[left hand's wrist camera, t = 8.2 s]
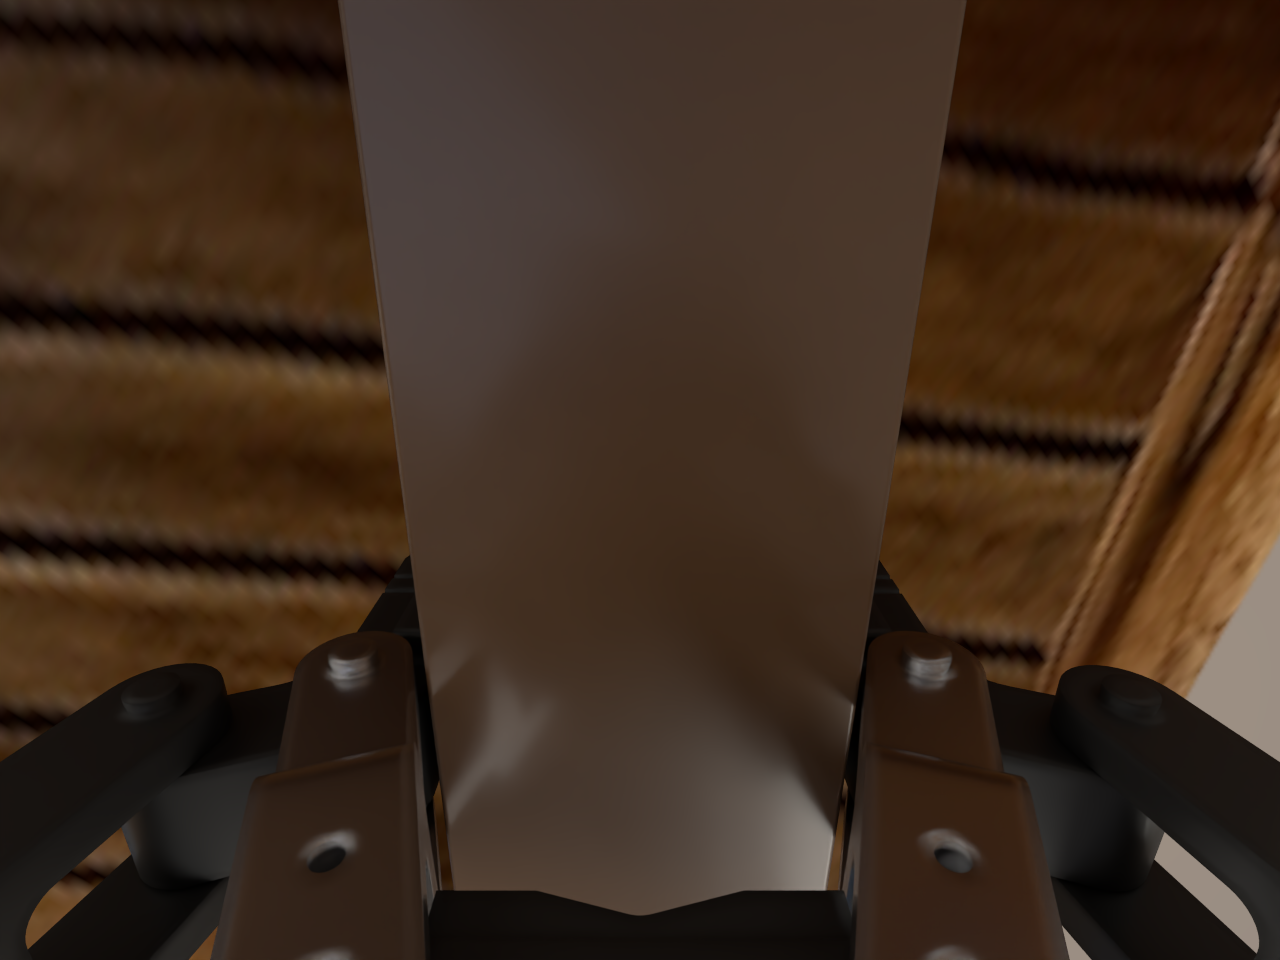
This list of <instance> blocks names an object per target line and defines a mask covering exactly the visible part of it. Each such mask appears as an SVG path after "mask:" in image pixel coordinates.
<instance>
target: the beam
mask: <svg viewBox="0 0 1280 960" xmlns="http://www.w3.org/2000/svg"><path fill="white" fill-rule="evenodd" d="M966 1H967V0H338V6H339V14H340V22H341V29H342V37H343V45H344V52H345V60H346V67H347V75H348V83H349V90H350V98H351V106H352V113H353V121H354V129H355V136H356V144H357V152H358V159H359V167H360V175H361V182H362V190H363V198H364V205H365V213H366V221H367V228H368V236H369V244H370V251H371V259H372V267H373V274H374V282H375V289H376V297H377V305H378V312H379V320H380V328H381V335H382V343H383V351H384V358H385V366H386V374H387V381H388V389H389V397H390V404H391V412H392V420H393V427H394V435H395V443H396V450H397V458H398V466H399V473H400V481H401V489H402V496H403V504H404V512H405V519H406V527H407V534H408V542H409V550H410V557H411V565H412V573H413V580H414V588H415V596H416V603H417V611H418V619H419V626H420V634H421V642H422V649H423V657H424V665H425V672H426V680H427V688H428V695H429V703H430V711H431V718H432V726H433V734H434V741H435V749H436V757H437V764H438V772H439V779H440V787H441V795H442V802H443V810H444V818H445V825H446V833H447V841H448V848H449V856H450V864H451V871H452V879H453V887H454V890H537V891H541V892H544V893H548V894H552V895H556V896H560V897H564V898H568V899H572V900H576V901H580V902H583V903H587V904H591V905H595V906H599V907H603V908H607V909H611V910H615V911H619V912H623V913H626V914H631V915H649V914H654V913H657V912H661V911H665V910H669V909H673V908H677V907H681V906H685V905H689V904H693V903H697V902H700V901H704V900H708V899H712V898H716V897H720V896H724V895H728V894H732V893H736V892H739V891H743V890H827V886H828V880H829V874H830V867H831V861H832V854H833V848H834V842H835V835H836V829H837V823H838V816H839V810H840V804H841V797H842V791H843V784H844V778H845V772H846V765H847V759H848V753H849V746H850V740H851V734H852V727H853V721H854V714H855V708H856V702H857V695H858V689H859V683H860V676H861V670H862V663H863V657H864V651H865V644H866V638H867V632H868V625H869V619H870V613H871V606H872V600H873V593H874V587H875V581H876V574H877V568H878V562H879V555H880V549H881V542H882V536H883V530H884V523H885V517H886V511H887V504H888V498H889V492H890V485H891V479H892V472H893V466H894V460H895V453H896V447H897V441H898V434H899V428H900V421H901V415H902V409H903V402H904V396H905V390H906V383H907V377H908V371H909V364H910V358H911V351H912V345H913V339H914V332H915V326H916V320H917V313H918V307H919V300H920V294H921V288H922V281H923V275H924V269H925V262H926V256H927V250H928V243H929V237H930V230H931V224H932V218H933V211H934V205H935V199H936V192H937V186H938V179H939V173H940V167H941V160H942V154H943V148H944V141H945V135H946V129H947V122H948V116H949V109H950V103H951V97H952V90H953V84H954V78H955V71H956V65H957V59H958V52H959V46H960V39H961V33H962V27H963V20H964V14H965V8H966Z"/></svg>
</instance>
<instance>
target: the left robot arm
mask: <svg viewBox="0 0 1280 960" xmlns="http://www.w3.org/2000/svg"><path fill="white" fill-rule="evenodd" d="M394 576H395V577H394V579H392V580H391V581H390V583H389V584H388V586H387V587H386V589H385V593H382V595H381V597H380V598H379V600H378V601H377V603H376V604H375V606H374V607H373V609H372V610H371V612H370V613H369V615H368V616H367V618H366V619H365V621H364V622H363V624H362V625H361V627H360V629H359V630H358V632H356V633H351V634H347V635H344V636H340V637H337V638H335V639H332V640H330V641H328V642H326V643H324V644H322V645H320V646H318V647H317V648H315V649H314V650H312V651H311V652H310V653H308V654H307V655H306V656H305V657H304V658H303V659H302V660H301V661H300V663H299V664H298V666H297V668H296V671H295V673H294V679H293V681H291V682H288V683H284V684H280V685H275V686H270V687H265V688H260V689H255V690H250V691H245V692H240V693H235V694H230V695H227V691H226V688H225V684H224V680H223V677H222V675H221V673H220V672H219V671H218V670H217V669H215V668H213V667H211V666H208V665H204V664H196V663H185V664H175V665H170V666H164V667H160V668H157V669H153V670H150V671H147V672H144V673H141V674H139V675H136V676H134V677H131V678H129V679H127V680H125V681H123V682H121V683H119V684H118V685H116V686H114V687H113V688H111V689H109V690H108V691H106V692H105V693H103V694H102V695H100V696H99V697H97V698H96V699H94V700H93V701H91V702H90V703H88V704H87V705H85V706H84V707H82V708H81V709H79V710H78V711H76V712H75V713H73V714H72V715H70V716H69V717H67V718H66V719H64V720H63V721H61V722H60V723H58V724H57V725H55V726H54V727H52V728H51V729H49V730H48V731H46V732H45V733H43V734H42V735H40V736H39V737H37V738H36V739H34V740H33V741H31V742H30V743H28V744H27V745H25V746H24V747H22V748H21V749H19V750H18V751H16V752H15V753H13V754H12V755H10V756H9V757H7V758H6V759H4V760H3V761H1V762H0V960H189V958H190V957H191V956H192V955H193V954H194V953H195V951H196V950H197V949H198V948H199V947H200V946H201V944H202V943H203V942H204V941H205V940H206V939H207V937H208V936H209V935H210V934H211V933H212V932H213V931H214V929H215V928H216V927H217V926H218V929H217V933H216V937H215V942H214V946H213V950H212V955H211V959H210V960H1070V959H1069V955H1068V951H1067V946H1066V942H1065V937H1064V933H1063V929H1062V926H1063V927H1064V928H1065V929H1066V930H1067V932H1068V933H1069V934H1070V935H1071V936H1072V937H1073V939H1074V940H1075V941H1076V942H1077V943H1078V944H1079V946H1080V947H1081V948H1082V949H1083V950H1084V951H1085V952H1086V954H1087V955H1088V956H1089V957H1090V958H1091V959H1092V960H1280V762H1279V761H1277V760H1276V759H1274V758H1273V757H1271V756H1270V755H1268V754H1267V753H1265V752H1264V751H1262V750H1261V749H1259V748H1258V747H1256V746H1255V745H1253V744H1252V743H1250V742H1249V741H1247V740H1246V739H1244V738H1243V737H1241V736H1240V735H1238V734H1237V733H1235V732H1234V731H1232V730H1231V729H1229V728H1228V727H1226V726H1225V725H1223V724H1222V723H1220V722H1219V721H1217V720H1216V719H1214V718H1213V717H1211V716H1210V715H1208V714H1207V713H1205V712H1204V711H1202V710H1201V709H1199V708H1198V707H1196V706H1195V705H1193V704H1192V703H1190V702H1189V701H1187V700H1186V699H1184V698H1183V697H1181V696H1180V695H1178V694H1177V693H1175V692H1174V691H1172V690H1170V689H1169V688H1167V687H1165V686H1164V685H1162V684H1160V683H1158V682H1156V681H1154V680H1152V679H1149V678H1147V677H1144V676H1142V675H1139V674H1136V673H1133V672H1130V671H1127V670H1123V669H1119V668H1114V667H1108V666H1099V665H1085V666H1078V667H1074V668H1071V669H1069V670H1067V671H1065V673H1064V674H1063V675H1062V676H1061V678H1060V680H1059V684H1058V688H1057V691H1056V695H1050V694H1045V693H1040V692H1035V691H1030V690H1025V689H1020V688H1015V687H1010V686H1006V685H1002V684H997V683H994V682H991V681H988V680H987V679H986V674H985V671H984V668H983V666H982V664H981V663H980V661H979V660H978V659H977V658H976V657H975V656H974V655H973V654H972V653H970V652H969V651H968V650H966V649H965V648H963V647H962V646H960V645H958V644H956V643H954V642H952V641H950V640H948V639H945V638H943V637H940V636H936V635H933V634H929V633H927V631H926V630H925V628H924V627H923V625H922V624H921V622H920V621H919V619H918V618H917V616H916V614H915V613H914V611H913V610H912V608H911V607H910V605H909V604H908V602H907V601H906V599H905V598H904V596H903V595H902V594H899V589H898V587H897V586H896V584H895V583H894V581H893V580H892V579H890V575H889V574H888V572H887V571H886V569H885V568H884V566H883V565H882V563H881V562H880V560H879V562H878V568H877V574H876V581H875V587H874V593H873V600H872V606H871V613H870V619H869V625H868V632H867V638H866V644H865V651H864V657H863V663H862V670H861V676H860V683H859V689H858V695H857V702H856V708H855V714H854V721H853V727H852V734H851V740H850V746H849V753H848V759H847V765H846V772H845V780H846V783H847V786H848V791H847V798H846V805H845V812H844V823H843V835H842V847H841V859H840V871H839V883H838V890H743V891H739V892H736V893H732V894H728V895H724V896H720V897H716V898H712V899H708V900H704V901H700V902H697V903H693V904H689V905H685V906H681V907H677V908H673V909H669V910H665V911H661V912H657V913H654V914H649V915H631V914H626V913H623V912H619V911H615V910H611V909H607V908H603V907H599V906H595V905H591V904H587V903H583V902H580V901H576V900H572V899H568V898H564V897H560V896H556V895H552V894H548V893H544V892H541V891H537V890H442V883H441V871H440V859H439V847H438V835H437V823H436V812H435V805H434V798H433V796H434V794H435V791H436V788H437V785H438V782H439V772H438V764H437V757H436V749H435V741H434V734H433V726H432V718H431V711H430V703H429V695H428V688H427V680H426V672H425V665H424V657H423V649H422V642H421V634H420V626H419V619H418V611H417V603H416V596H415V588H414V580H413V573H412V565H411V557H410V556H408V557H407V558H405V560H404V561H403V563H402V564H401V566H400V568H399V569H398V571H397V572H396V574H395V575H394ZM120 827H121V828H122V830H123V833H124V836H125V838H126V841H127V844H128V846H129V849H130V852H131V855H130V856H129V857H128V858H127V859H126V860H125V861H124V862H123V863H122V864H120V865H119V866H118V867H117V868H116V869H115V870H114V871H113V872H112V873H111V874H110V875H108V876H107V877H106V878H105V879H104V880H103V881H102V882H101V883H100V884H99V885H98V886H96V887H95V888H94V889H93V890H92V891H91V892H90V893H89V894H88V895H87V896H86V897H85V898H83V899H82V900H81V901H80V902H79V903H78V904H77V905H76V906H75V907H74V908H73V909H71V910H70V911H69V912H68V913H67V914H66V915H65V916H64V917H63V918H62V919H61V920H60V921H58V922H57V923H56V924H55V925H54V926H53V927H52V928H51V929H50V930H49V931H48V932H46V933H45V934H44V935H43V936H42V937H41V938H40V939H39V940H38V941H37V942H36V943H35V944H33V945H32V946H31V947H30V948H29V949H27V946H26V943H25V934H26V928H27V925H28V922H29V920H30V917H31V915H32V913H33V911H34V910H35V908H36V906H37V905H38V903H39V902H40V900H41V899H42V898H43V896H44V895H45V894H46V893H47V892H48V891H49V890H50V889H51V888H52V887H53V886H54V885H55V884H56V883H57V882H58V881H59V880H61V879H62V878H63V877H64V876H65V875H66V874H68V873H69V872H70V871H71V870H72V869H73V868H74V867H76V866H77V865H78V864H79V863H80V862H81V861H82V860H84V859H85V858H86V857H87V856H88V855H89V854H91V853H92V852H93V851H94V850H95V849H96V848H97V847H99V846H100V845H101V844H102V843H103V842H104V841H106V840H107V839H108V838H109V837H110V836H111V835H112V834H114V833H115V832H116V831H117V830H118V829H119V828H120ZM1164 832H1165V833H1167V834H1168V835H1169V836H1170V837H1171V838H1172V839H1173V840H1175V841H1176V842H1177V843H1178V844H1179V845H1180V846H1181V847H1183V848H1184V849H1185V850H1186V851H1187V852H1188V853H1189V854H1191V855H1192V856H1193V857H1194V858H1195V859H1196V860H1198V861H1199V862H1200V863H1201V864H1202V865H1203V866H1204V867H1206V868H1207V869H1208V870H1209V871H1210V872H1211V873H1213V874H1214V875H1215V876H1216V877H1217V878H1218V879H1219V880H1221V881H1222V882H1223V883H1224V884H1225V885H1226V886H1227V887H1229V888H1230V889H1231V890H1232V891H1233V892H1234V893H1235V894H1236V895H1237V896H1238V897H1239V899H1240V900H1241V901H1242V902H1243V904H1244V905H1245V906H1246V908H1247V909H1248V911H1249V913H1250V914H1251V916H1252V918H1253V920H1254V922H1255V925H1256V927H1257V931H1258V935H1259V949H1258V952H1257V954H1256V953H1255V952H1254V951H1253V950H1252V949H1251V948H1250V947H1249V946H1248V945H1247V944H1245V943H1244V942H1243V941H1242V940H1241V939H1240V938H1239V937H1238V936H1237V935H1236V934H1235V933H1233V932H1232V931H1231V930H1230V929H1229V928H1228V927H1227V926H1226V925H1225V924H1224V923H1223V922H1222V921H1220V920H1219V919H1218V918H1217V917H1216V916H1215V915H1214V914H1213V913H1212V912H1211V911H1210V910H1209V909H1207V908H1206V907H1205V906H1204V905H1203V904H1202V903H1201V902H1200V901H1199V900H1198V899H1197V898H1195V897H1194V896H1193V895H1192V894H1191V893H1190V892H1189V891H1188V890H1187V889H1186V888H1185V887H1183V886H1182V885H1181V884H1180V883H1179V882H1178V881H1177V880H1176V879H1175V878H1174V877H1173V876H1172V875H1170V874H1169V873H1168V872H1167V871H1166V870H1165V869H1164V868H1163V867H1162V866H1161V865H1160V864H1158V863H1157V862H1156V861H1155V860H1154V858H1155V855H1156V853H1157V850H1158V848H1159V845H1160V842H1161V840H1162V837H1163V834H1164Z"/></svg>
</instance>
